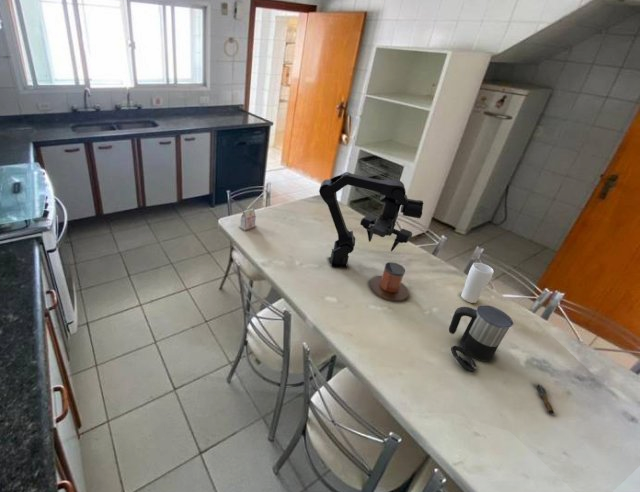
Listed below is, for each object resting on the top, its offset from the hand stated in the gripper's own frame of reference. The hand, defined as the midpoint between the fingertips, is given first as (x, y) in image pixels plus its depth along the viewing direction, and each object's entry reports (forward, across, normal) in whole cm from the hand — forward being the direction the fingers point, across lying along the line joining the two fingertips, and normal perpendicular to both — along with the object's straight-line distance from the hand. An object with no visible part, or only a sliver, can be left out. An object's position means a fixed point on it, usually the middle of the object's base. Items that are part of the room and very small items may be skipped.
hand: (380, 246), depth 134 cm
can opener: (+13, +59, -19) cm, 63 cm away
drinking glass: (+13, +33, +12) cm, 38 cm away
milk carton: (+13, -61, -14) cm, 64 cm away
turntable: (+13, +9, -6) cm, 17 cm away
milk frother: (+13, +40, -18) cm, 46 cm away
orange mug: (+12, +9, -7) cm, 17 cm away
